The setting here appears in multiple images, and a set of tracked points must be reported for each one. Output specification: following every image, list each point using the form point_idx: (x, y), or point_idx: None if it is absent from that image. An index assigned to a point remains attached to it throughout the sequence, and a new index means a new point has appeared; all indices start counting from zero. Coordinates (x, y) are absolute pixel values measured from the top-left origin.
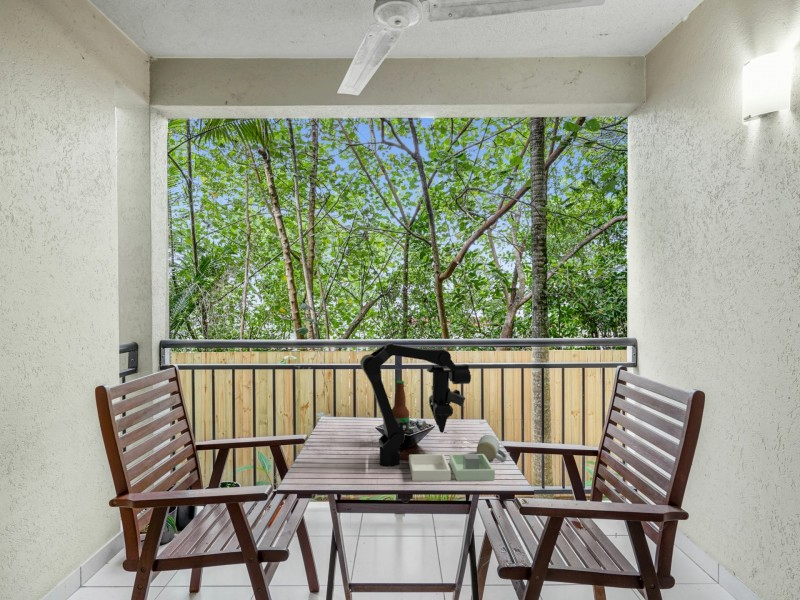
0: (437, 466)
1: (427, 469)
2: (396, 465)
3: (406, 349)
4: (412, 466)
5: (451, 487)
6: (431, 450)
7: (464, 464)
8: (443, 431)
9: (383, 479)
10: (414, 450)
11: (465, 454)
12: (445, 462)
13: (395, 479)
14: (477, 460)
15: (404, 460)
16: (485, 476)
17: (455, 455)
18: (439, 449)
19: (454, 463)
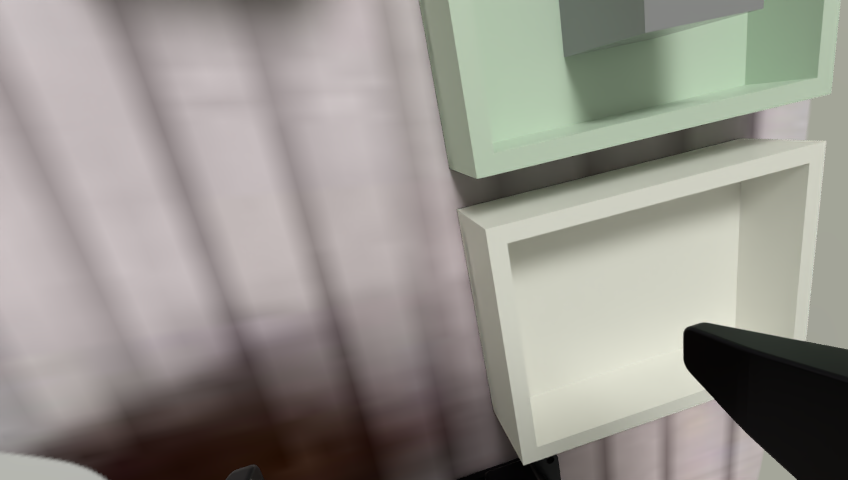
0: (529, 246)
1: (586, 298)
2: (535, 470)
3: None
4: None
5: (793, 129)
6: (101, 348)
7: (660, 34)
8: (721, 328)
9: (681, 462)
10: (156, 460)
11: (649, 5)
12: (677, 193)
13: (682, 416)
14: None
15: (398, 458)
16: None
17: (488, 120)
18: (38, 290)
19: (697, 120)
